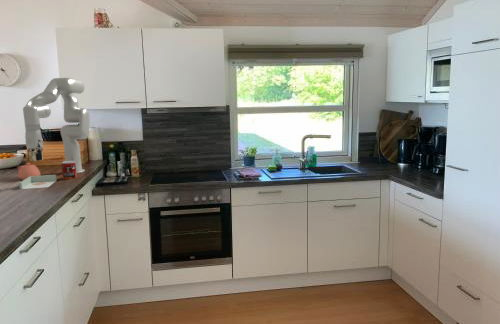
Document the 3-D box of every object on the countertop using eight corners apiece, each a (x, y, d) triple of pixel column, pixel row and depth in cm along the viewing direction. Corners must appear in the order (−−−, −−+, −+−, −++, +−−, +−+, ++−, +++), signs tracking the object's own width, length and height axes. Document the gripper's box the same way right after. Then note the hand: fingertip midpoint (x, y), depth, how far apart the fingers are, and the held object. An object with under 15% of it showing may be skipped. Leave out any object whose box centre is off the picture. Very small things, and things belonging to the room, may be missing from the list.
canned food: (62, 181, 247) (60, 163, 245) (64, 178, 254) (62, 161, 252) (76, 180, 249) (74, 162, 247) (77, 177, 256) (76, 160, 254)
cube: (30, 160, 234) (28, 152, 233) (38, 159, 238) (37, 150, 237) (34, 161, 231) (33, 152, 230) (43, 159, 235) (42, 151, 235)
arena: (30, 183, 243) (29, 176, 242) (56, 181, 245) (56, 174, 245) (20, 190, 225) (19, 182, 225) (48, 188, 228) (47, 180, 227)
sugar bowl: (31, 181, 249) (29, 164, 247) (11, 181, 252) (9, 164, 250) (45, 177, 261) (43, 161, 259) (26, 177, 264) (24, 161, 262)
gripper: (18, 128, 233) (22, 159, 236) (34, 129, 224) (38, 162, 227) (31, 127, 239) (35, 158, 242) (47, 127, 230) (51, 159, 233)
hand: (36, 159), depth 235 cm, fingers closed on cube, 5 cm apart
